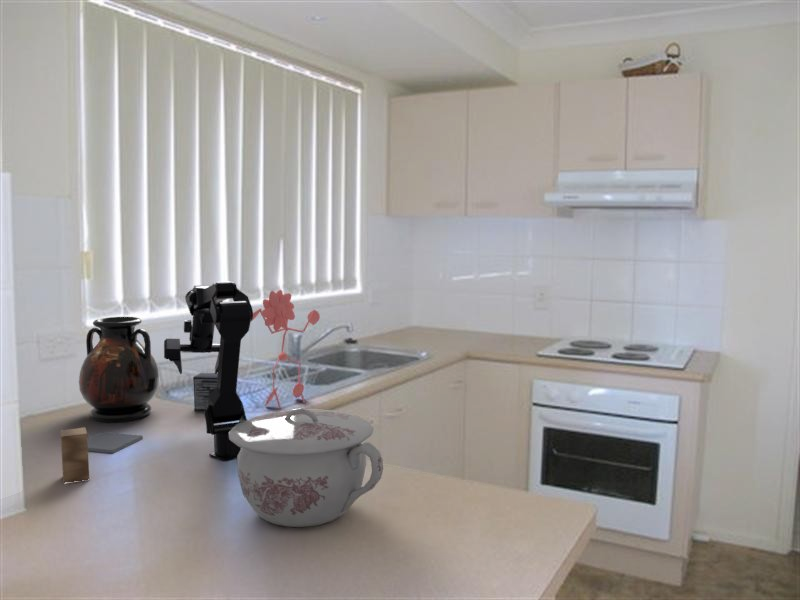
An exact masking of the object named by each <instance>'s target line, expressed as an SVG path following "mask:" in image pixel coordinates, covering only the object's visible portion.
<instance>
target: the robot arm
mask: <svg viewBox="0 0 800 600" xmlns="http://www.w3.org/2000/svg"><path fill="white" fill-rule="evenodd" d="M184 299H185V303H186V305H187V308H188V311H189V313H190V315H191V316H192V319H184V321H183V333H187V334H189V338H188V339H189V342H190V343H188V344H185V343H184V344H181V338H165V340H164V341H163V358H164V359H165V360H169V361H170V362H173V363H174V364H175V366H176V368H177V371H178V372H179V374H180V375H181V374H183V364H182V354H187V353H188V354H191V353H193V354H197V353H198V354H204V353H208V354H209V353H210V354H211V353H218V354H217V358H216V360H215V361H216V362H215V365H214V373H215V374H217V373H218V376H217V387H216V388H215V389H211V390H210V391H209V400H208V405H207V406H206V409H205V411H203V414H204V422H205V427H206V434H208V435H209V434H211V436H213V444H214V448H213V449H214V451H212V452H209V453H208V455H209V456H210V457H213V458H214V459H218V460H221V461H223V462H224V461H225V462H226V461H229V460H233V459H237V456H238V454H239V452H240V450H241V448H240V447H239V446H237V445H236V444H235V443H233V442H232V441H231V440H229V431H230V430H231V429H232V428H233V427H234V426H235V425H236V424H238V423H240V422H242V421H244V420H247V419H248V418H247V416H246V411H245V408H244V404H243V402H242V399H241V397H240V395H239V393H238V392H237V389H238V387H237V386H238V378H239V377H238V375H239V366H240V365H239V364H240V353H241V346H242V345H241V344H242V339H244V337H245V336H246V334H247V333H248V332H249V331H250V327H251V323H252V321H253V320H252V319H253V313H254V311H253V306H252V305H251V304H252V303H251V301H250V298H249V296H248V295H247V294H245V293H244V292H242V291H241V290H240V289H239V288H238V287H237V284H236V282H233V281H215V283H214V282H213V283H212V285H207V286H202V285H193V287H192V289H190V290H189V291H188V292H187V293H186V294H185V296H184ZM230 299H232V301H225V300H230ZM215 328H216V329H217V331H218V334H219V335H220V339H219V343H213V341H214V335H215ZM181 353H182V354H181Z"/></svg>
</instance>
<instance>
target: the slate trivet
mask: <svg viewBox="0 0 800 600" xmlns="http://www.w3.org/2000/svg"><path fill="white" fill-rule="evenodd" d="M143 438H144V436H143V435H141V434H130V433H120V432H118V433H117V432H108V431H101V432H99V433H97V434H94V435H92V436H91V437H87V443H88V452H94V451H95V452H97V453H107V454H114V453H116V452H119V451H120V450H123V449H125V448H126V447H128V446H131V445H133V444H134V443H137V442H139V441H141V440H143ZM95 452H94V453H95Z"/></svg>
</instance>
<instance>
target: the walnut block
mask: <svg viewBox="0 0 800 600" xmlns="http://www.w3.org/2000/svg"><path fill="white" fill-rule="evenodd" d="M59 432H60V447H61V466H62V467H61V468H62V480H64V481H63V484H64V483H65V482H74V481H82V480H88V479H89V480H90V469H89V451H88V443H87V439H88V432H87V429H86V427H78V428H71V429H70V428H68V429H61V430H60V431H59ZM82 482H83V481H82Z"/></svg>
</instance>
